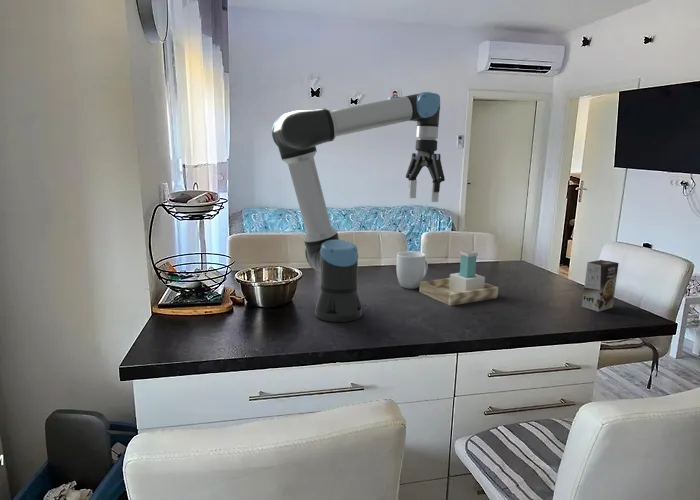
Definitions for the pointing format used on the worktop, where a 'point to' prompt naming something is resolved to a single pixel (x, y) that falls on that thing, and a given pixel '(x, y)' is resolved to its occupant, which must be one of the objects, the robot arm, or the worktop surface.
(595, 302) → the coffee box
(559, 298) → the worktop surface
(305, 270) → the worktop surface
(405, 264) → the mug
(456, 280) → the inlet
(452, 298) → the wooden tray
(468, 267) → the plug
